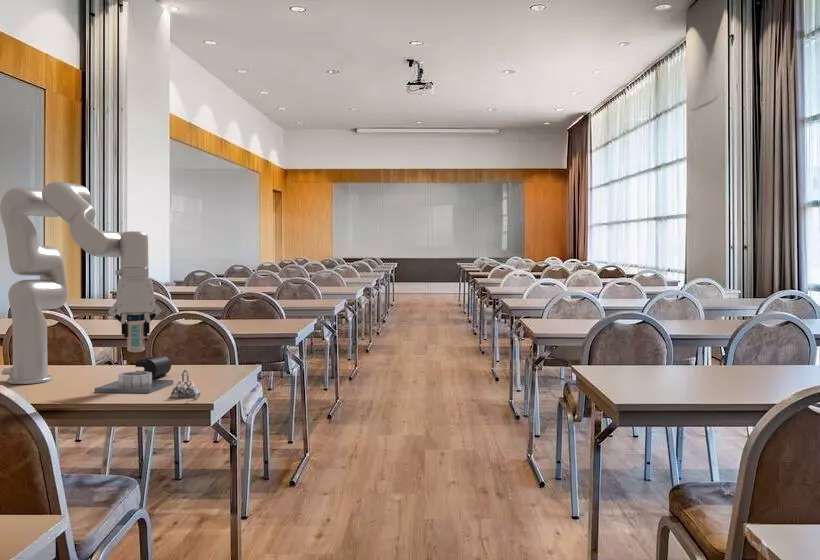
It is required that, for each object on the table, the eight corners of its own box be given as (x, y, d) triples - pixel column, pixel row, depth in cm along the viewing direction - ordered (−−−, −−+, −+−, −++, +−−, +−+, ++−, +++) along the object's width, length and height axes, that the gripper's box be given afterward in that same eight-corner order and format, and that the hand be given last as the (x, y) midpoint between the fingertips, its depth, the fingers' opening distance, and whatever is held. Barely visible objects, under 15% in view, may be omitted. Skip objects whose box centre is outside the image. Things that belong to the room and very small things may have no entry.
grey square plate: (94, 392, 197) (94, 377, 197) (122, 383, 213) (122, 369, 213) (149, 393, 196) (149, 378, 195) (173, 383, 212) (173, 370, 211)
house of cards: (155, 401, 185) (155, 372, 185) (170, 395, 194) (170, 367, 194) (188, 402, 184) (188, 373, 184) (201, 396, 193) (201, 368, 193)
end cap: (156, 381, 217) (156, 359, 217) (134, 381, 218) (134, 359, 218) (171, 376, 227) (171, 355, 227) (150, 376, 228) (150, 355, 228)
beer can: (139, 350, 207) (139, 309, 207) (147, 351, 204) (147, 310, 204) (124, 351, 203) (123, 310, 203) (132, 353, 200) (131, 311, 200)
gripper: (103, 274, 197) (104, 339, 197) (167, 273, 204) (168, 336, 204) (102, 274, 203) (103, 337, 204) (164, 273, 211) (164, 334, 211)
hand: (135, 336), depth 204 cm, fingers closed on beer can, 4 cm apart
